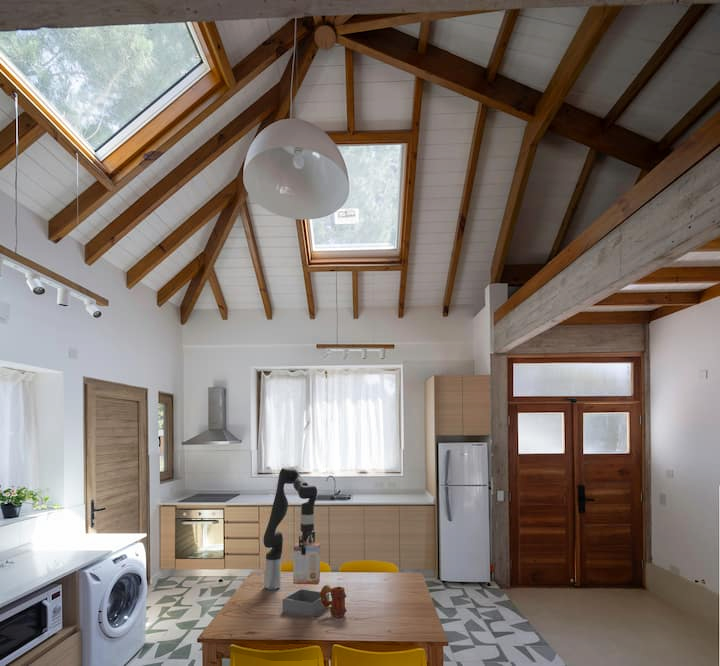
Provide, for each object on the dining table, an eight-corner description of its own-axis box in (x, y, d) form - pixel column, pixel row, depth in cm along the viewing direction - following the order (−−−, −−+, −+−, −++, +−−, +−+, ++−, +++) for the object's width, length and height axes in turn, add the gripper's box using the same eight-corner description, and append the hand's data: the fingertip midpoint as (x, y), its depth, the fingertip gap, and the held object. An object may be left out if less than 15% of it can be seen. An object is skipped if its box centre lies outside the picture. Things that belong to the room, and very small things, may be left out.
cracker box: (320, 581, 311) (320, 542, 314) (318, 585, 305) (318, 545, 308) (295, 580, 313) (295, 541, 315) (292, 584, 307) (293, 544, 309)
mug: (349, 614, 299) (349, 585, 301) (343, 620, 291) (343, 589, 294) (323, 611, 304) (324, 582, 306) (317, 616, 296) (318, 586, 298)
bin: (282, 612, 303) (282, 598, 304) (300, 601, 319) (300, 588, 320) (312, 617, 295) (312, 603, 296) (329, 606, 311) (329, 593, 312)
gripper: (308, 519, 321) (307, 549, 319) (294, 524, 308) (294, 555, 306) (319, 520, 318) (319, 551, 316) (306, 525, 305) (306, 557, 303)
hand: (306, 553), depth 311 cm, fingers closed on cracker box, 7 cm apart
